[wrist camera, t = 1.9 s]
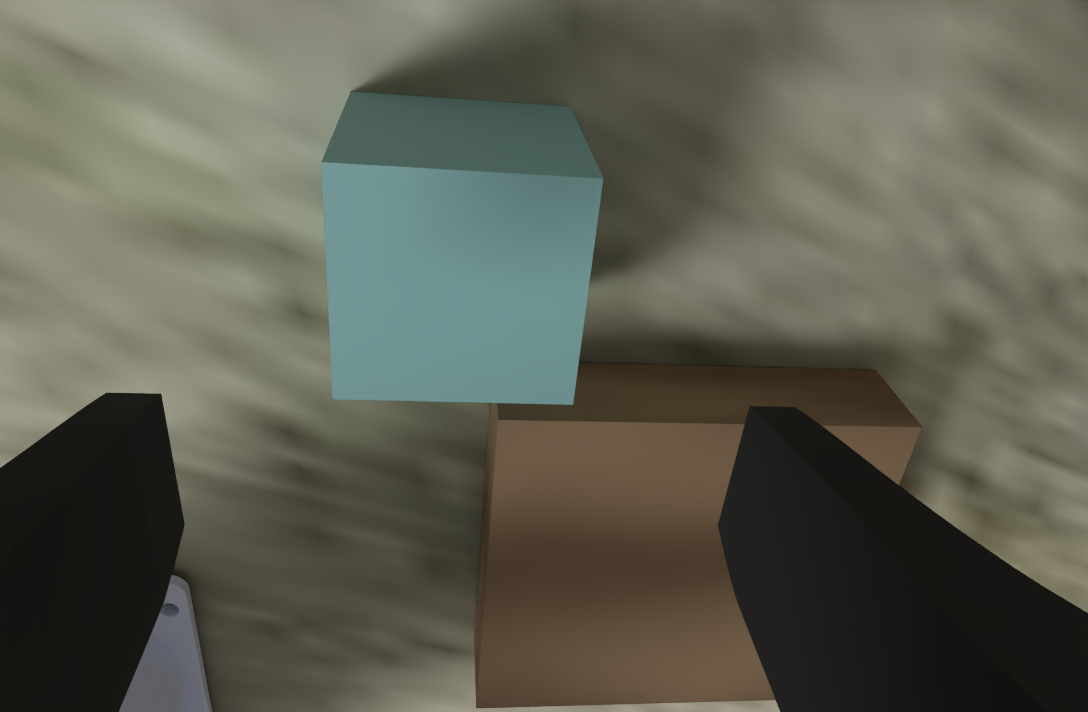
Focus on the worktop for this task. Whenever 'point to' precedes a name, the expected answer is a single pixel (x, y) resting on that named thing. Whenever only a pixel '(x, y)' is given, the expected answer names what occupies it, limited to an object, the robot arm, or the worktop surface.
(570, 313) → the teal cube
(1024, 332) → the worktop surface
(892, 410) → the walnut block
